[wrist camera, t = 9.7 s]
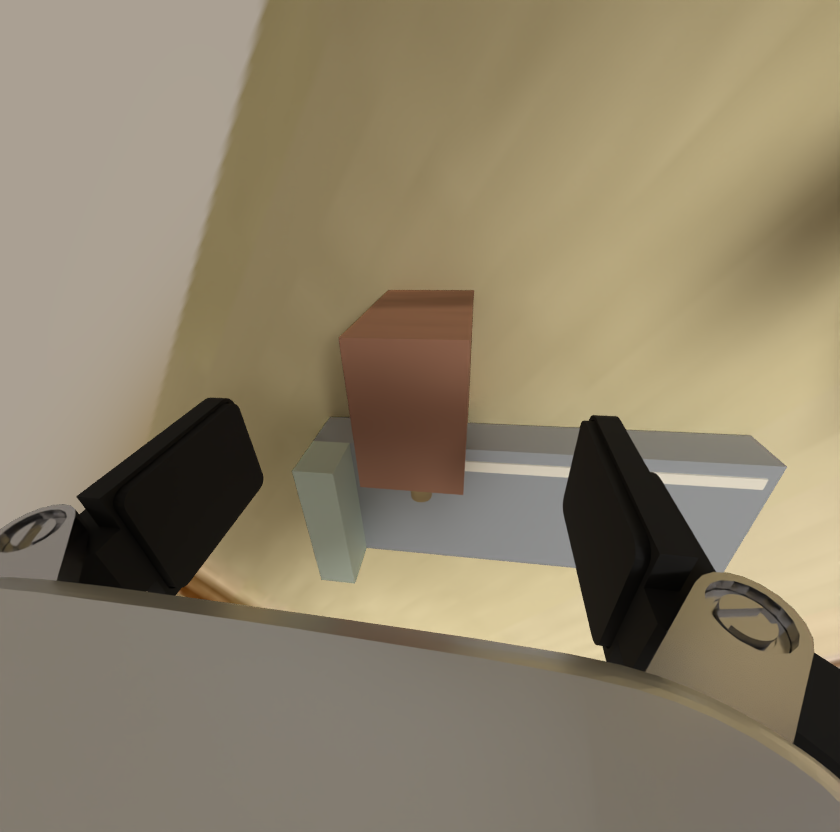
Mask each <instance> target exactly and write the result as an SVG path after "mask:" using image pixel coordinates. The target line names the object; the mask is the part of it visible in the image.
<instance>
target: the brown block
mask: <svg viewBox="0 0 840 832" xmlns="http://www.w3.org/2000/svg"><path fill="white" fill-rule="evenodd" d="M473 300H474V290H388V291H387V292H386V293H385V294H384V295H383V296H382V297H381V298H380V299H378V300H377V301H376V302H375V303H374V304H373V305H372V306H371V307H370V308H369V309H368V310H367V311H366V312H365V313H364V314H363V315H362V316H361V317H360V318H359V319H358V320H357V321H355V322H354V323H353V324H352V325H351V326H350V327H349V328H348V329H347V330H346V331H345V332H344V333H343V334H342V335H341V336H340V337H339V344H340V351H341V358H342V365H343V372H344V378H345V385H346V392H347V399H348V406H349V413H350V420H351V427H352V434H353V441H354V447H355V454H356V461H357V468H358V475H359V482H360V487H366V488H379V489H392V490H405V491H411V498H412V499H413V500H414V501H416V502H426V501H428V500H430V499H431V497H432V493H443V494H455V495H463V492H464V475H465V458H466V441H467V424H468V407H469V386H470V364H471V343H472V322H473Z"/></svg>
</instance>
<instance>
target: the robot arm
mask: <svg viewBox="0 0 840 832" xmlns="http://www.w3.org/2000/svg"><path fill="white" fill-rule="evenodd" d="M262 484H263V474H262V471H261V468H260V465H259V462H258V460H257V457H256V454H255V451H254V448H253V445H252V443H251V440H250V437H249V434H248V431H247V429H246V426H245V423H244V420H243V417H242V414H241V412H240V409H239V407H238V406H237V405H236V404H234V402H233V401H232V400H230V399H227V398H207V399H205V400H204V401H202V402H201V403H200V404H198V405H197V406H196V407H194V408H193V409H192V410H190V411H189V412H188V413H186V414H185V415H184V416H182V417H181V418H180V419H178V420H177V421H176V422H174V423H173V424H172V425H170V426H169V427H168V428H166V429H165V430H164V431H163V432H161V433H160V434H159V435H157V436H156V437H155V438H153V439H152V440H151V441H149V442H148V443H147V444H145V445H144V446H143V447H141V448H140V449H139V450H137V451H136V452H135V453H133V454H132V455H131V456H129V457H128V458H127V459H125V460H124V461H123V462H121V463H120V464H119V465H118V466H116V467H115V468H113V469H112V470H111V471H109V472H108V473H107V474H106V475H104V476H103V477H102V478H100V479H99V480H97V482H95V483H94V484H92V485H91V486H90V487H88V488H87V489H86V490H84V491H83V492H82V493H80V494H79V495H78V496H77V498H78V499H79V501H80V502H81V503H82V504H83V506H84V507H85V510H84V511H83V512H82V513H80V514H78V512H77V511H76V510H75V509H74V508H73V507H72V506H70V505H65V504H61V505H51V506H47V507H44V508H40V509H37V510H35V511H32V512H30V513H27V514H25V515H23V516H21V517H19V518H17V519H15V520H14V521H12V522H10V523H9V524H7V525H6V526H4V527H3V528H1V529H0V832H840V669H839V668H837V667H836V666H834V665H833V664H831V663H830V662H828V661H826V660H825V659H823V658H822V657H820V656H819V655H817V654H816V653H814V641H813V637H812V635H811V633H810V631H809V629H808V627H807V625H806V623H805V622H804V621H803V619H802V618H801V617H800V616H799V615H798V613H797V612H796V611H795V610H794V609H793V608H792V607H791V606H790V605H789V604H788V603H786V602H785V601H784V600H783V599H782V598H781V597H780V596H778V595H777V594H775V593H774V592H772V591H770V590H769V589H767V588H766V587H764V586H763V585H761V584H759V583H756V582H754V581H752V580H750V579H747V578H745V577H742V576H739V575H735V574H731V573H725V572H716V571H715V569H714V567H713V566H712V564H711V562H710V561H709V559H708V557H707V556H706V554H705V552H704V551H703V549H702V547H701V546H700V544H699V542H698V541H697V539H696V537H695V535H694V534H693V532H692V530H691V529H690V527H689V525H688V524H687V522H686V520H685V519H684V517H683V515H682V514H681V512H680V510H679V509H678V507H677V505H676V504H675V502H674V500H673V499H672V497H671V495H670V493H669V492H668V490H667V488H666V487H665V485H664V483H663V482H662V480H661V479H660V477H659V476H658V475H657V474H656V473H654V472H650V471H649V469H648V467H647V466H646V464H645V462H644V461H643V459H642V457H641V455H640V454H639V452H638V450H637V448H636V447H635V445H634V443H633V441H632V440H631V438H630V436H629V434H628V433H627V431H626V429H625V427H624V426H623V424H622V422H621V420H620V419H619V418H618V417H616V416H597V415H592V416H591V417H590V419H589V421H582V423H581V426H580V430H579V434H578V438H577V442H576V447H575V451H574V455H573V459H572V464H571V468H570V472H569V476H568V481H567V485H566V489H565V493H564V498H563V515H564V519H565V523H566V527H567V532H568V536H569V540H570V545H571V549H572V553H573V557H574V562H575V566H576V570H577V575H578V579H579V583H580V588H581V592H582V596H583V600H584V605H585V609H586V613H587V618H588V622H589V626H590V630H591V635H592V638H593V641H594V643H595V644H596V645H600V646H603V650H604V654H605V658H606V662H605V661H600V660H595V659H591V658H586V657H581V656H576V655H572V654H566V653H560V652H554V651H548V650H542V649H536V648H530V647H523V646H517V645H511V644H505V643H499V642H493V641H487V640H481V639H474V638H468V637H461V636H454V635H447V634H440V633H433V632H427V631H420V630H413V629H406V628H399V627H393V626H386V625H379V624H372V623H365V622H358V621H352V620H345V619H338V618H331V617H324V616H317V615H310V614H302V613H295V612H288V611H281V610H274V609H267V608H260V607H253V606H246V605H239V604H231V603H224V602H217V601H210V600H203V599H195V598H188V597H181V596H175V595H176V594H177V593H178V592H179V590H180V589H181V588H182V587H185V586H186V585H187V584H188V583H189V582H190V581H191V579H192V578H193V577H194V576H195V574H196V573H197V572H198V570H199V569H200V568H201V566H202V565H203V564H204V562H205V561H206V560H207V558H208V557H209V556H210V554H211V553H212V552H213V550H214V549H215V548H216V546H217V545H218V544H219V542H220V541H221V540H222V538H223V537H224V536H225V534H226V533H227V532H228V530H229V529H230V528H231V526H232V525H233V524H234V522H235V521H236V520H237V518H238V517H239V516H240V514H241V513H242V512H243V510H244V509H245V508H246V506H247V505H248V504H249V502H250V501H251V500H252V498H253V497H254V496H255V494H256V493H257V492H258V491H259V489H260V488H261V486H262ZM146 591H147V592H146Z"/></svg>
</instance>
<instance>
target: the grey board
mask: <svg viewBox="0 0 840 832" xmlns="http://www.w3.org/2000/svg"><path fill="white" fill-rule="evenodd" d="M579 430H580V428H570V427H547V426H525V425H502V424H480V423H468V424H467V441H466V458H465V475H464V492H463V495H455V494H443V493H432V497H431V499H430V500H428V501H426V502H416V501H414V500H413V499H412V498H411V491H405V490H392V489H379V488H366V487H360V482H359V475H358V468H357V461H356V454H355V447H354V441H353V434H352V427H351V420H350V418H345V417H330V418H329V419H328V420H327V422H326V423H325V425H324V426H323V428H322V429H321V430H320V432H319V433H318V435H317V436H316V438H315V439H314V440H313V442H312V443H311V445H310V446H309V448H308V449H307V450H306V452H305V453H304V455H303V456H302V458H301V459H300V460H299V462H298V463H297V465H296V466H295V468H294V469H293V470H292V473H293V477H294V480H295V484H296V488H297V491H298V495H299V499H300V502H301V506H302V510H303V513H304V517H305V521H306V524H307V528H308V532H309V535H310V539H311V543H312V546H313V550H314V554H315V557H316V561H317V565H318V568H319V572H320V576H321V579H322V580H329V581H338V582H347V583H355V582H356V579H357V576H358V573H359V570H360V566H361V563H362V560H363V557H364V554H365V551H366V548H375V549H385V550H395V551H406V552H416V553H427V554H437V555H447V556H458V557H468V558H478V559H489V560H499V561H509V562H520V563H530V564H540V565H551V566H561V567H572V568H576V566H575V562H574V557H573V553H572V549H571V545H570V540H569V536H568V532H567V527H566V523H565V519H564V515H563V498H564V493H565V489H566V485H567V481H568V476H569V472H570V468H571V464H572V459H573V455H574V451H575V447H576V442H577V438H578V434H579ZM626 431H627V433H628V434H629V436H630V438H631V440H632V441H633V443H634V445H635V447H636V448H637V450H638V452H639V454H640V455H641V457H642V459H643V461H644V462H645V464H646V466H647V467H648V469H649V471H650V472H654V473H656V474H657V475H658V476H659V477H660V479H661V480H662V482H663V483H664V485H665V487H666V488H667V490H668V492H669V493H670V495H671V497H672V499H673V500H674V502H675V504H676V505H677V507H678V509H679V510H680V512H681V514H682V515H683V517H684V519H685V520H686V522H687V524H688V525H689V527H690V529H691V530H692V532H693V534H694V535H695V537H696V539H697V541H698V542H699V544H700V546H701V547H702V549H703V551H704V552H705V554H706V556H707V557H708V559H709V561H710V562H711V564H712V566H713V567H714V569H715V571H716V572H724V571H725V569H726V567H727V566H728V564H729V562H730V561H731V559H732V557H733V556H734V554H735V552H736V551H737V549H738V547H739V546H740V544H741V542H742V541H743V539H744V537H745V536H746V534H747V532H748V531H749V529H750V528H751V526H752V524H753V523H754V521H755V519H756V518H757V516H758V514H759V513H760V511H761V509H762V508H763V506H764V504H765V503H766V501H767V499H768V498H769V496H770V494H771V493H772V491H773V489H774V488H775V486H776V484H777V483H778V481H779V480H780V478H781V476H782V475H783V473H784V471H785V470H786V468H787V466H786V465H784V464H783V463H782V462H781V461H780V460H779V459H777V458H776V457H775V456H774V455H773V454H772V453H771V452H769V451H768V450H767V449H766V448H765V447H764V446H762V445H761V444H760V443H759V442H758V441H757V440H755V439H754V438H753V437H752V436H750V435H727V434H705V433H682V432H660V431H637V430H626Z"/></svg>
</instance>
